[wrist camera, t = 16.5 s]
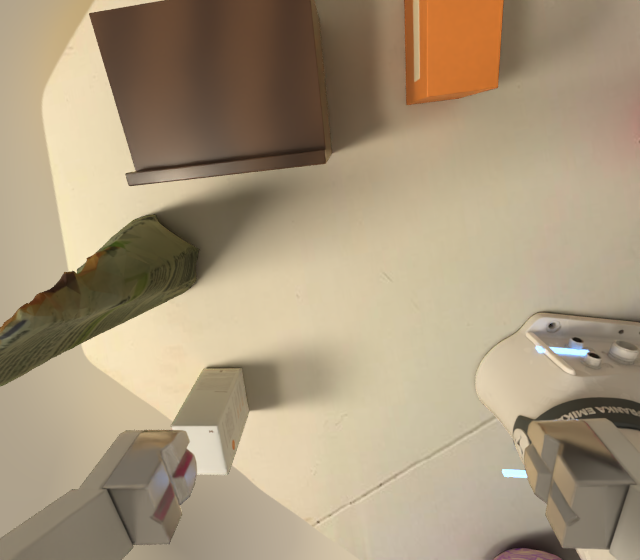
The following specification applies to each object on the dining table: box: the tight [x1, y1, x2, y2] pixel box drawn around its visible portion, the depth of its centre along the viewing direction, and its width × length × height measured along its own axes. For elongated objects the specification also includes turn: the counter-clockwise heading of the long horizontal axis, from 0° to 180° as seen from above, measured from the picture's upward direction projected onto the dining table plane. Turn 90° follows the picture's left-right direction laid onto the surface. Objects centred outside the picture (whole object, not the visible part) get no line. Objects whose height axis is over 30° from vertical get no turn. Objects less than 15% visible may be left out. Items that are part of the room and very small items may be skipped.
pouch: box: [0, 214, 199, 386], centre depth 32 cm, size 11×12×25 cm
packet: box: [404, 0, 504, 105], centre depth 29 cm, size 5×9×10 cm, turn 6°
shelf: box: [89, 0, 332, 186], centre depth 31 cm, size 16×12×12 cm
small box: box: [171, 368, 249, 475], centre depth 46 cm, size 8×6×10 cm
